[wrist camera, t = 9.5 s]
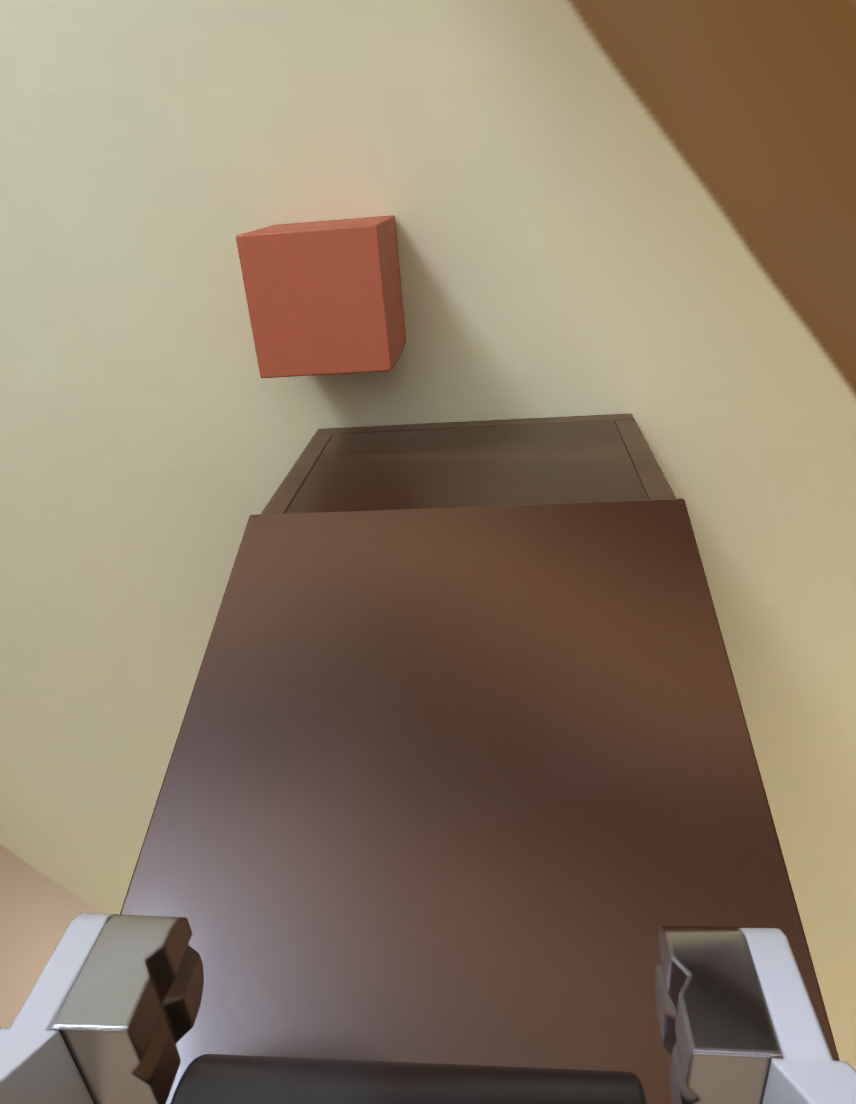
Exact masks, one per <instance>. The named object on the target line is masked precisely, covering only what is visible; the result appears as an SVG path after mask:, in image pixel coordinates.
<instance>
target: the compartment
mask: <svg viewBox="0 0 856 1104" xmlns="http://www.w3.org/2000/svg"><path fill="white" fill-rule="evenodd" d="M663 499H676V497H675V495H674V493H673V491H672V489H671V487H670V486H669V484H668V482H667V480H666V478H665V476H664V474H663V472H662V470H661V469H660V467H659V465H658V463H657V461H656V459H655V457H654V455H653V453H652V451H651V450H650V448H649V446H648V444H647V442H646V440H645V438H644V436H643V434H642V432H641V431H640V429H639V427H638V425H637V423H636V421H635V419H634V417H633V416H632V414H615V415H595V416H575V417H554V418H534V419H514V420H494V421H474V422H453V423H433V424H413V425H393V426H373V427H353V428H332V429H318V430H317V432H316V433H315V435H314V436H313V438H312V439H311V441H310V442H309V444H308V445H307V447H306V448H305V450H304V451H303V452H302V454H301V455H300V457H299V458H298V460H297V461H296V463H295V464H294V466H293V467H292V469H291V470H290V472H289V473H288V475H287V476H286V478H285V479H284V481H283V482H282V484H281V485H280V486H279V488H278V489H277V491H276V492H275V494H274V495H273V497H272V498H271V500H270V501H269V503H268V504H267V506H266V507H265V509H264V510H263V512H262V513H261V515H262V514H289V513H315V512H342V511H369V510H396V509H422V508H449V507H476V506H503V505H530V504H556V503H583V502H610V501H637V500H663Z"/></svg>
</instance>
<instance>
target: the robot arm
mask: <svg viewBox="0 0 856 1104" xmlns="http://www.w3.org/2000/svg"><path fill="white" fill-rule="evenodd" d="M192 933H193V932H192V930H191V927H190V925H189V922H188V919H187V917H168V916H144V915H120V914H94V913H81V914H80V915H79V916H78V917H76V918H75V919H74V920H73V921H72V922H71V923H70V924H69V926H68V927H67V929H66V931H65V933H64V935H63V936H62V938H61V940H60V942H59V944H58V945H57V947H56V949H55V950H54V952H53V954H52V956H51V957H50V959H49V961H48V963H47V964H46V966H45V968H44V970H43V972H42V973H41V975H40V977H39V978H38V980H37V982H36V984H35V985H34V987H33V989H32V991H31V992H30V994H29V996H28V998H27V1000H26V1001H25V1003H24V1005H23V1007H22V1008H21V1010H20V1012H19V1014H18V1015H17V1017H16V1019H15V1021H14V1022H13V1024H12V1026H11V1028H0V1104H166V1101H167V1099H168V1096H169V1093H170V1090H171V1088H172V1085H173V1082H174V1079H175V1076H176V1074H177V1071H178V1068H179V1065H180V1063H181V1059H180V1055H179V1052H178V1048H177V1045H176V1043H177V1042H178V1041H179V1040H180V1039H181V1038H182V1037H183V1036H184V1035H185V1034H186V1033H187V1032H188V1031H189V1030H190V1029H191V1028H193V1026H194V1023H195V1020H196V1017H197V1014H198V1011H199V1008H200V1005H201V998H202V992H203V985H204V973H203V964H202V960H201V957H200V954H199V953H198V952H197V951H195V950H194V949H193V948H191V947H190V946H189V945H188V944H189V941H190V938H191V936H192ZM658 949H659V954H660V959H661V962H660V963H659V964H658V965H656V969H655V1000H656V1011H657V1018H658V1025H659V1031H660V1037H661V1042H662V1045H663V1047H664V1048H665V1049H666V1050H667V1051H668V1052H669V1054H670V1055H671V1065H670V1075H669V1086H670V1091H671V1096H672V1101H673V1104H856V1071H855V1070H854V1069H853V1068H852V1067H851V1066H850V1065H849V1064H848V1063H847V1062H846V1061H834V1060H833V1058H832V1055H831V1053H830V1050H829V1047H828V1045H827V1042H826V1039H825V1037H824V1034H823V1032H822V1029H821V1026H820V1024H819V1021H818V1018H817V1016H816V1013H815V1010H814V1008H813V1005H812V1002H811V1000H810V997H809V994H808V992H807V989H806V987H805V984H804V981H803V979H802V976H801V973H800V971H799V968H798V965H797V963H796V960H795V957H794V955H793V952H792V949H791V947H790V944H789V942H788V939H787V937H786V935H785V934H784V933H783V932H782V931H781V929H778V928H738V927H737V926H661V928H660V930H659V935H658Z"/></svg>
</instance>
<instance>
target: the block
mask: <svg viewBox="0 0 856 1104" xmlns="http://www.w3.org/2000/svg"><path fill="white" fill-rule="evenodd" d="M236 241H237V246H238V252H239V258H240V263H241V269H242V275H243V280H244V286H245V291H246V297H247V303H248V308H249V314H250V320H251V325H252V331H253V337H254V342H255V348H256V354H257V359H258V365H259V371H260V376H261V378H273V377H291V376H308V375H325V374H343V373H360V372H378V371H391V370H392V368H393V366H394V364H395V362H396V360H397V358H398V356H399V354H400V352H401V350H402V348H403V346H404V345H405V343H406V337H405V326H404V314H403V303H402V292H401V281H400V269H399V258H398V247H397V235H396V224H395V216H382V217H369V218H357V219H344V220H332V221H319V222H307V223H294V224H282V225H273V226H269V227H266V228H262V229H258V230H255V231H251V232H248V233H244V234H241V235H237V236H236Z"/></svg>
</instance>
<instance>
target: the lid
mask: <svg viewBox="0 0 856 1104" xmlns="http://www.w3.org/2000/svg"><path fill="white" fill-rule="evenodd" d="M120 915H144V916H168V917H187V919H188V922H189V925H190V927H191V930H192V932H193V933H192V936H191V938H190V941H189V944H188V945H189V946H190V947H191V948H193V949H194V950H195V951H197V952H198V953H199V954H200V957H201V960H202V964H203V973H204V985H203V992H202V998H201V1005H200V1008H199V1011H198V1014H197V1017H196V1020H195V1023H194V1026H193V1028H191V1029H190V1030H189V1031H188V1032H187V1033H186V1034H185V1035H184V1036H183V1037H182V1038H181V1039H180V1040H179V1041H178V1042H177V1043H176V1045H177V1048H178V1052H179V1055H180V1059H181V1063H180V1065H179V1068H178V1071H177V1074H176V1076H175V1079H174V1082H173V1085H172V1088H171V1090H170V1093H169V1096H168V1099H167V1101H166V1104H673V1101H672V1096H671V1091H670V1086H669V1075H670V1065H671V1055H670V1054H669V1052H668V1051H667V1050H666V1049H665V1048H664V1047H663V1045H662V1042H661V1037H660V1031H659V1025H658V1018H657V1011H656V1000H655V969H656V965H658V964H659V963H660V962H661V959H660V954H659V949H658V935H659V930H660V928H661V926H737V927H738V928H778V929H781V931H782V932H783V933H784V934H785V935H786V937H787V939H788V942H789V944H790V947H791V949H792V952H793V955H794V957H795V960H796V963H797V965H798V968H799V971H800V973H801V976H802V979H803V981H804V984H805V987H806V989H807V992H808V994H809V997H810V1000H811V1002H812V1005H813V1008H814V1010H815V1013H816V1016H817V1018H818V1021H819V1024H820V1026H821V1029H822V1032H823V1034H824V1037H825V1039H826V1042H827V1045H828V1047H829V1050H830V1053H831V1055H832V1058H833V1060H834V1061H840V1060H839V1057H838V1053H837V1049H836V1046H835V1042H834V1039H833V1035H832V1031H831V1028H830V1024H829V1021H828V1017H827V1013H826V1010H825V1006H824V1002H823V999H822V995H821V992H820V988H819V984H818V981H817V977H816V974H815V970H814V966H813V963H812V959H811V955H810V952H809V948H808V945H807V941H806V937H805V934H804V930H803V927H802V923H801V919H800V916H799V912H798V908H797V905H796V901H795V898H794V894H793V890H792V887H791V883H790V880H789V876H788V872H787V869H786V865H785V861H784V858H783V854H782V851H781V847H780V843H779V840H778V836H777V833H776V829H775V825H774V822H773V818H772V814H771V811H770V807H769V804H768V800H767V796H766V793H765V789H764V786H763V782H762V778H761V775H760V771H759V767H758V764H757V760H756V757H755V753H754V749H753V746H752V742H751V739H750V735H749V731H748V728H747V724H746V720H745V717H744V713H743V710H742V706H741V702H740V699H739V695H738V692H737V688H736V684H735V681H734V677H733V673H732V670H731V666H730V663H729V659H728V655H727V652H726V648H725V645H724V641H723V637H722V634H721V630H720V626H719V623H718V619H717V616H716V612H715V608H714V605H713V601H712V598H711V594H710V590H709V587H708V583H707V579H706V576H705V572H704V569H703V565H702V561H701V558H700V554H699V551H698V547H697V543H696V540H695V536H694V532H693V529H692V525H691V522H690V518H689V514H688V511H687V507H686V504H685V500H684V499H663V500H637V501H610V502H583V503H556V504H530V505H503V506H476V507H449V508H422V509H396V510H369V511H342V512H315V513H289V514H262V515H250V517H249V520H248V523H247V526H246V529H245V532H244V535H243V538H242V541H241V544H240V547H239V551H238V554H237V557H236V560H235V563H234V566H233V569H232V572H231V575H230V578H229V581H228V584H227V587H226V590H225V594H224V597H223V600H222V603H221V606H220V609H219V612H218V615H217V618H216V621H215V624H214V627H213V630H212V633H211V636H210V640H209V643H208V646H207V649H206V652H205V655H204V658H203V661H202V664H201V667H200V670H199V673H198V676H197V679H196V682H195V686H194V689H193V692H192V695H191V698H190V701H189V704H188V707H187V710H186V713H185V716H184V719H183V722H182V725H181V728H180V732H179V735H178V738H177V741H176V744H175V747H174V750H173V753H172V756H171V759H170V762H169V765H168V768H167V771H166V775H165V778H164V781H163V784H162V787H161V790H160V793H159V796H158V799H157V802H156V805H155V808H154V811H153V814H152V817H151V821H150V824H149V827H148V830H147V833H146V836H145V839H144V842H143V845H142V848H141V851H140V854H139V857H138V860H137V863H136V867H135V870H134V873H133V876H132V879H131V882H130V885H129V888H128V891H127V894H126V897H125V900H124V903H123V906H122V909H121V913H120Z"/></svg>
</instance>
